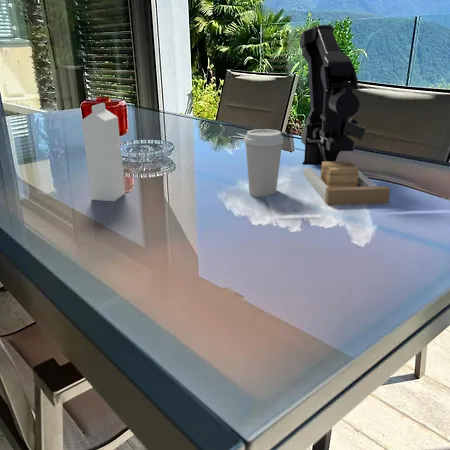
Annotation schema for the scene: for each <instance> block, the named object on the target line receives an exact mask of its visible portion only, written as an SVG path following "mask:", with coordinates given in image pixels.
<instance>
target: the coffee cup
mask: <svg viewBox="0 0 450 450" xmlns="http://www.w3.org/2000/svg"><path fill="white" fill-rule="evenodd" d="M243 143H245V151H246V166H247V176H248V177H247V178H248V191H249V195H250V196H252V197H256V198H261V199H262V198H266V196H271V195H274V194H276V193H277V187H278V181H279V179H278V178H279V171H280V170H279V169H280V162H281V155H282V154H281V153H282V146H283V144H284V143H285V139H284V136H283V135H282V132H281V130H276V129H268V128H267V129H266V128H265V129H264V128H261V129H260V128H259V129H251V130H248V131H247V132H246V134H245V136H244V138H243Z"/></svg>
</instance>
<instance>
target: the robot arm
mask: <svg viewBox="0 0 450 450" xmlns="http://www.w3.org/2000/svg"><path fill="white" fill-rule="evenodd" d="M299 48H300V49H301V56H302V58H303V59H304V60H305V61H306V62H307V64H308V65H307V66H308V67H307V68H308V84H309V106H310V111H309V114H308V116H307V118H306V120H305V124H304V126H303V129H302V132H301V134H300V135H301V137H300V139H301V141H300V142H301V143H302V144H303V145H304V161H303V162H302V165H304V166H305V165H306V166H308V165H311V166H312V165H315V166H321V165H322V162H326V161H337V158H338V156H339V153H341V152H354V151H355V145H356V144H355V141H354V140H353V139H351V138H350V137H349V136H351V137H354V138H355V139H358V140H359V141H362V140H363V138H364V137H365V134H366V132H367V130H368V129H367V128H366V127H365V126H362V125H360V124H358V123H359V122H358V120H357V119H354V118H352V117H353V116H354V115H355V114H357V112H358V111H359V109H360V107H361V105H360V100H359V97H358V96H357V94H355V93H353V91H354V90H357V89H358V83H359V80H358V77H357V72H356V69H355V65H354V64H353V61H352V60H351V59H350V57H349V56H348V55H346V54H344V53H342V52H341V50H340V47H339V44H338V41H337V38H336V37H335V34H334V26H333V25H331V24H317V25H314V26H313V27H311V28H309V29H307V30H304V31H303V32H302V33H301V35H300V37H299Z"/></svg>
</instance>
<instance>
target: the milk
mask: <svg viewBox="0 0 450 450" xmlns="http://www.w3.org/2000/svg"><path fill="white" fill-rule="evenodd" d="M118 119H119V117H118V116H117V115H115V114H114V113H113V112H111V111H110V110H108V109H106V103H105V102H101V103H96V104H94V105H92V106H91V113H90V114H89V115H87V116H86V117H84V118H82V119H81V126H82V136H83V141H84V148H85V149H84V150H85V157H86V165H87V174H88V182H89V190H90V198H91V200H92V201H102V202H103V201H104V202H116V201H117V200H119V199H120V198H121V197H123V196H124V195H126V190H125V180H124V169H123V159H122V150H121V149H122V148H121V140H120V139H121V137H120V128H119V126H120V125H119V120H118Z"/></svg>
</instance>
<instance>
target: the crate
mask: <svg viewBox="0 0 450 450" xmlns="http://www.w3.org/2000/svg"><path fill="white" fill-rule="evenodd" d="M320 166H321V167H320V168H321V171H320V179H321V180H322V181H323V182H324V183H325V184H326V185H327V186H328V188H336V187H358V186H359V185H358V175H359V171H360V169H359V167H357V166H356V165H355V164H353V163H352V162H351V161H349V160H336V161H326V162H322V165H320Z"/></svg>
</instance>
